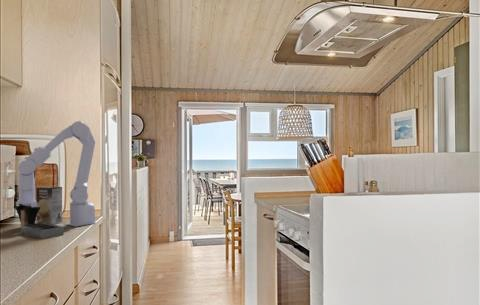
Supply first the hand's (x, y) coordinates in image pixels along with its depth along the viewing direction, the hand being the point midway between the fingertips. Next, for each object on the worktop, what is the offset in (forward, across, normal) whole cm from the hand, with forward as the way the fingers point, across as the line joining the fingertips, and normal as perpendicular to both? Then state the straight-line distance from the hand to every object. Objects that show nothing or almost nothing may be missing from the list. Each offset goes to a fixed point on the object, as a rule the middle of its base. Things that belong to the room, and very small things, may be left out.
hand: (27, 223), depth 148 cm
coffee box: (+3, -8, +12) cm, 15 cm away
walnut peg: (+2, 0, 0) cm, 2 cm away
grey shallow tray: (+2, +14, 0) cm, 14 cm away
